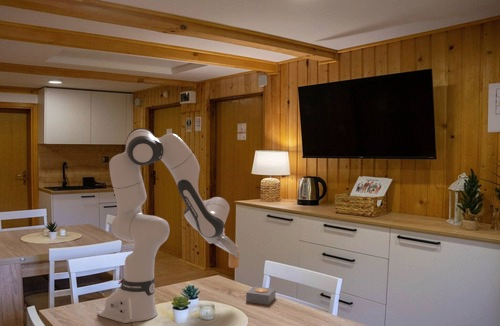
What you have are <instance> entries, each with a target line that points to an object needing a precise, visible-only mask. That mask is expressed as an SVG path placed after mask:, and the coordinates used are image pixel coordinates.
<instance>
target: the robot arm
mask: <svg viewBox="0 0 500 326" xmlns="http://www.w3.org/2000/svg"><path fill="white" fill-rule="evenodd" d="M124 144H125V145H124V147H123V148H124V149H123V152H122V153H118V154H116V155H114V156H112V158H111V159H110V160H109V165H108V167H109V176H110V180H111V185H112V187H113V188H112V189H113V192H114V196H115V197H114V198H115V200H116V201H115V202H116V205H117V212H116V213H117V214H116V216H115V217H114V218H113V220H112V223H111V232H112V234H113V235H114V236H115V237H116V238H118V239H120V240H122V241H125V242H132V243H134V248H133V251H132V252H131V253H130V254H128V255H127V256H126V257H125V260H124V278H122V279H120V280H118V281H117V282H118V283H117V284H118V285H120V286H119V288H118V289H117V290H115V291H113V292H112V293H110V294H109V295H108V297H107V298H106V300H105V304H104V307H103V308H101V309H100V310H99V311H98V312H97V313H98V314H97V315H98V316H99V317H103V318H104V319H105V318H106V319H109V320H112V321H116V322H119V323H121V324H122V323H123V324H127V323H132V322H143V321H148V320H151V319H153V318H156V317H157V315H158V311H157V307H156V299H155V291H156V289H155V288H156V286H155V285H156V278H155V260H156V255H157V253H158V250H159V249H160V247H161V246H162V245H163V244H164V243H165V242H166V241H167V240H168V238H169V236H170V231H171V230H170V224H169V223H168V222H169V221H167V220H166V219H164V218H162V217H159V216H156V215H149V214H143V212H142V205H144V204H145V203H146V201H147V198H148V195H147V191H146V188H145V183H144V179H143V176H142V171H141V166H148V165H151V164H153V163H156V162H159V161H161V162H162V163H163V164H164V166H165V167H166V168H167V170H168V171H169V173H170V174H171V176H172V178H173V179H174V181H175V184H176V186H177V190H178V193H179V194H180V197H181V198H182V200H183V203H184V204H185V205H186V208H185V210H184V212H183V215H184V218H185V220H186V221H187V222H188V223H189V224H190V226H191V227H192V228H193V229H194V230H196V231H197V232H198V233H199V234H200V236H201V237H202V238H203V239H204V240H205V241H206V242H207V243H208V244H210V245H211V244H213V245H214V246H217V247H218V248H220V249H222V250H224V251H225V252H227V253H228V254H229V253H230V254H232V255H234V256H235V257H236V258H238V257H239V258H240V253H239V254H238V253H237V251H240V248H239V246H238V247H237V246H236V245H237V244H236V243H235V242H234V241H233V240H232V239H230V237H228V236H226V233H225V231H226V230H225V225H226V221H227V218H228V216H229V214H230V209H231V206H230V203H229V202H228V201H227V200H226V199H225V198H224V197H220V196H214V197H211V198H209V199H206V200H203V198H202V197H201V195H200V193H199V178H200V173H201V171H200V170H201V166H200V164H199V160H198V159H197V157H196V155H195V154H194V153H193V151H192V150H191V148H190V147H189V146H188V145H187V143H186V142H185V141H184V140H183V139H182V138H181V137H180V136H178V135H177V134H175V133H172V132H171V133H170V132H169V133H165V134H164V135H162V136H161V137H155V134H154V133H153V132H152V131H151V130H149V129H147V128H144V127H139V128H135V129H133V130H131V131H130V133H128V136H127V138H126V141H125V143H124Z"/></svg>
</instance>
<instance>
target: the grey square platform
mask: <svg viewBox="0 0 500 326" xmlns="http://www.w3.org/2000/svg"><path fill="white" fill-rule="evenodd" d="M276 290H277V289H276V288H270V287H261V286H255V285H254V286H253V287H252V288H250V289H249V290H248V291H247V292H246V294H245V295H246V300H245V301H246V303H253V304H259V305H265V306H266V305H267V306H269V305H271V303H272V302H273V301H274V300H275V299H276Z"/></svg>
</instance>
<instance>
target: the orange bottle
mask: <svg viewBox="0 0 500 326" xmlns="http://www.w3.org/2000/svg"><path fill="white" fill-rule="evenodd" d="M235 245H236V246H237V247H238V248H239V244H235ZM237 253H238V254H239V255H240V250H238V251H237ZM239 267H240V256H239V257H238V258H236V257H235V256H234V255H232V254H230V253H228V268H231V269H235V268H236V269H237V268H239Z"/></svg>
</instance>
